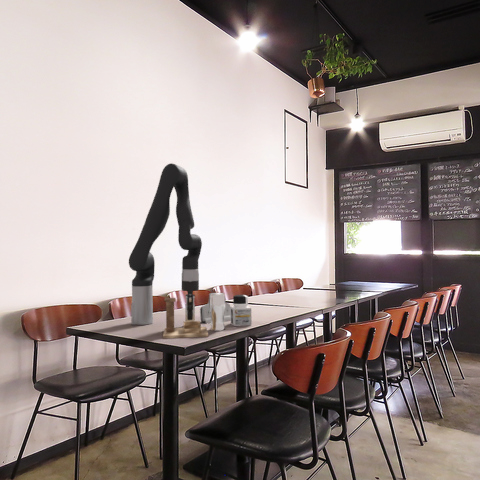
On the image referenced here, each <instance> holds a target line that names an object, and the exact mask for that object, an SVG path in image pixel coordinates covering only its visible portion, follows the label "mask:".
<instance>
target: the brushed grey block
mask: <svg viewBox="0 0 480 480" xmlns="http://www.w3.org/2000/svg"><path fill="white" fill-rule="evenodd" d="M188 307H192V306H188ZM195 307H196V305H195V303H194V306H193V319H192V320H188V319H187V316H188V311H187V305H186V303H185V308H184V309H185V311H184V312H185V313H184V314H185V321H196V320H195V319H196V317H195V316H196V314H195V313H196V312H195V311H196V310H195V309H196V308H195ZM185 321H184V322H185Z"/></svg>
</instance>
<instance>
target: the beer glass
mask: <svg viewBox="0 0 480 480" xmlns="http://www.w3.org/2000/svg"><path fill="white" fill-rule="evenodd" d="M208 295H209V296H208V303H209V311H210V316H211V323H210V327H209V329H210V331H212V332H222V331H225V329H226V328H225V321H224V314H225V305H226V303H227V302H226V293H225V292H211V293H208Z"/></svg>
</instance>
